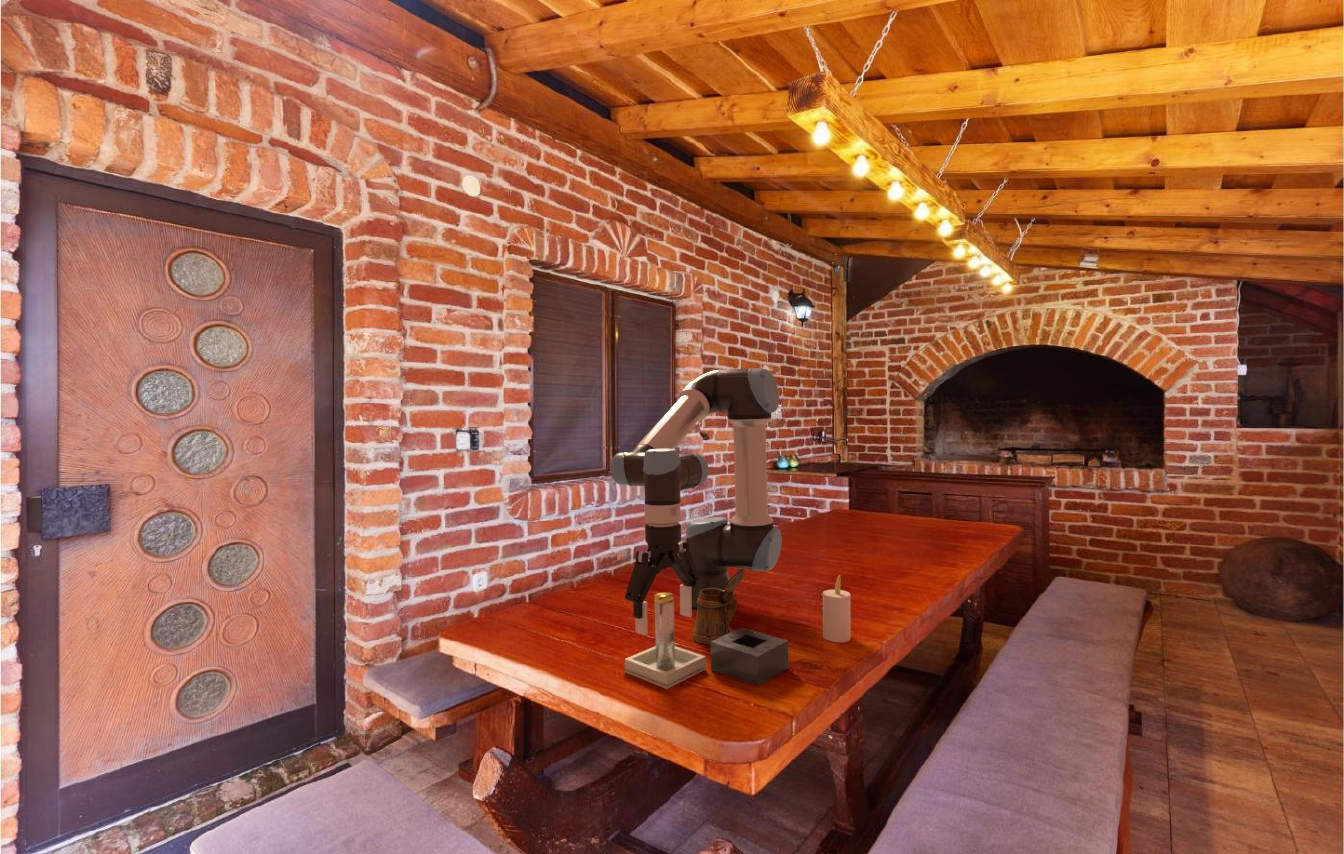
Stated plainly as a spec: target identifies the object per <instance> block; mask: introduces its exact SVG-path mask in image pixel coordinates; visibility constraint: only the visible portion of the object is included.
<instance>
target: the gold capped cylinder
mask: <svg viewBox="0 0 1344 854" xmlns="http://www.w3.org/2000/svg"><path fill="white" fill-rule="evenodd" d="M674 596H675V595H674V593H671V592H659V593H656V594H654V625H655V631H654V632H655V646H656V668H657V669H660V670H663V671H669V670H672V669H674V668H675V646H676V643H675V641H676V640H675V637H676V635H675V634H676V633H675V597H674Z"/></svg>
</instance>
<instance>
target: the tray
mask: <svg viewBox="0 0 1344 854" xmlns="http://www.w3.org/2000/svg"><path fill="white" fill-rule="evenodd" d="M706 658H707V657H706V656H705V655H703V654H700V653H696V652H694V651H690V650H688V649H684V648H682V647H679V646H676V645H675V668H674V669H672V670H669V671H663V670H660V669H657V668H656V645H655V646H653V647H649V648H648V649H645V650H643V651H640V652H638V653H636V654H633V655H631V656H629V657H626V658H624V672H625V674H629V675H631V676H634V677H636V678H639V679H640V680H641V679H642V680H643V681H645V682H649V683H650V684H653V685H656V686H659V687H661V688H664V689H665V690H668V689H670V688H672V687H674V686H676V685H677V684H680V683H682V682H683V681H684V682H685V681H686V680H688V679H690V678H692V677H694V676H697V675H698V674H700V673H701V672H704V671H705V670H707V668H706V665H707V664H706V663H707V662H706V661H707V660H706Z"/></svg>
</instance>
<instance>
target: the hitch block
mask: <svg viewBox="0 0 1344 854" xmlns="http://www.w3.org/2000/svg"><path fill="white" fill-rule="evenodd" d="M788 669H789V640H787V639H785V638H779V637H776V636H773V635H769V634H768V633H767V634H765V633H762V632H759V631H755V630H751V629H748V628H744V627H740V628H738V629H735V630H733V631H731V633H729V634H727V635H724V636H722V637H720V638H718V639H716V640H713V641H711V644H710V670H711V671H713V672H716V673H718V674H721V675H724V676H727V677H730V678H733V679H736V680H739V681H742V682H744V683H747V684H750V685H753V686H756V687H760V686H762V685H763V684H765V683H766V682H768V681H770V680H772V679H773V678H775V677H776V676H779V675H780V674H782V673H783V672H785V671H787V670H788Z"/></svg>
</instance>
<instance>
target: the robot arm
mask: <svg viewBox="0 0 1344 854" xmlns="http://www.w3.org/2000/svg"><path fill="white" fill-rule="evenodd" d="M676 397H677V398H676V402H675V403H674V404H673V405H672V406H671V408H670V409H669V410H668V411H667V412H666V413H665V414H664V415H663V416H662V417H661V418H660V419H659V420H658V422H657V423H656V424H655V425H654V426H652V428H651V429H650V430H649V431H648V433H646V435H645V436H644V437H643V438H642V440H641V441H640V442H638V444H636V446H635V447H634V448H633V449H632V450H631V451H630V452H627V451H624V452H619V453H616V454H615V455H614V456H613V457H612V459H611V461H610V468H609V470H610V474H611V477H612V480H613V481H614V482H615V483H616V484H618V485H625V486H629V487H644V522H645V525H644V540H645V542H646V544H647V549H646V551H640V550H637V551H636V552H635V561H634V562H635V563H634V565H633V569H632V572H631V576H630V579H629V582H628V586H627V588H626V592H625V596H624V599H625V600H626V601H629V602H632V604H633V605H632V609H633V611H632V612H633V618H634V620H635V633H638V634H641V635H643V636H646V635H648V634H649V632H648V630H649V629H648V627H649V625H648V602H647V601H645V599H646V597H647V596H648V593H649V591H650V589H651V587H652V585H653V583H654V581H655V579H656V577H657V575H659V574H660V573H661V571H663V570H665V569H667V568H671V569H672V570H673V571H674V573H675V574H676V575H677V577H678V579H679V580H680V581H681V583H682V584H680V585H679V599H680V600H679V608H680V610H679V611H680V612H679V615H681V616H684V617H688V618H691V617H693V608H695V609H697V608H698V604H697V599H698V597H699V591H700V590H702V589H706V588H717V589H721V590H724V589H725V585H726V584H727V582H728V581H729V580H730V579H731V578H730V577H729V571H728V569H729V568H732V569H733V568H734V569H740V570H741V569H744V570H749V571H753V572H757V571H758V572H768V571H771V570H772V569H773V568H774V567H775V566H776V564H777V562H778V559H779V557H780V555H781V551H782V544H783V539H782V538H783V537H782V534H781V533H782V531H781V529H779V528H777V527H774V519H773V518H772V516H770V514H768V513H769V512H768V477H767V476H768V475H767V464H768V463H767V430H766V428H767V427H766V426H767V425H768V423H769V422H770V421H771V419H772V414H773V413H774V412H776V411H777V410H778V408H779V402H780V393H779V386H778V384H777V380H776V378H775V376H774V375H773V374H772V372H771V371H770V370H768V369H767V368H758V367H757V368H756V367H749V368H735V369H734V368H733V369H732V368H731V369H716V370H715V369H714V370H711V371H709V372H706V373H704V374H702V375H700V376H698V377H696V378H695V379H694V380H692V381H691V382H689V383H688V384H687V385H686V386H684V388H682V390H681V391H680V392H679V393H678V394H677V396H676ZM715 413H727V414H726V415H727V421H728V422H729V423H730V424H731V425H732V427H733V428H732V429H733V458H734V459H733V460H734V461H733V464H734V467H733V468H734V496H735V497H734V499H735V500H734V501H735V504H734V505H735V509H734V510H735V514H734V515H733V516H732V517H731V519H730V520H729V521H728V518H727V517H724V516H717V517H716V516H715V517H705V518H700V519H695V520H692V521H690V522H688V523H687V525H686V527H685V537H684V538H685V540H682V525H681V524H680V522H681V520H682V519H681V517H682V516H681V491H685V490H687V489H694V488H698V486H701V485H702V484H704V483H705V482H706V481H707V479H708V477H709V474H710V467H709V464H708V462H707V460H706V458H704V457H703V456H702V455H700V454H699V453H692V452H691V453H688V452H687V453H685V454H680V451H679V450H678V449H676V448H677V447H678V446H679V444H680V443H681V442H682V441H683V440H684V439H685V438H686V436H687V435H688V434H689V432H690V431H692V429H693V428H694V426H695V425H696V424H697V423H698V422H699V421H702V420H705V419H706V418H707V417H708V415H711V414H715ZM733 593H734V594H735V590H733ZM726 607H729V603H727V605H726Z"/></svg>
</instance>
